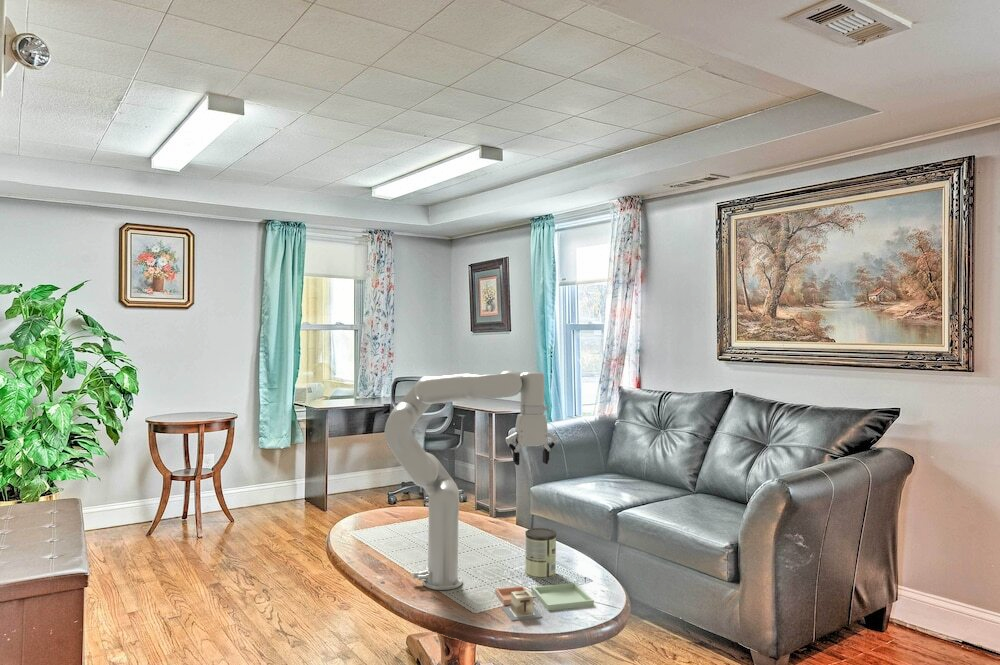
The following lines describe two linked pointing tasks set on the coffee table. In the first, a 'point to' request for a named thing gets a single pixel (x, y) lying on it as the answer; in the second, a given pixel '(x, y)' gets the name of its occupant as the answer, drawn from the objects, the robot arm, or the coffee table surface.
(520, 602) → the letter cube
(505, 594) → the terracotta dish
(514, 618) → the grey framed white tile
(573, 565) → the coffee table surface
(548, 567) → the coffee can
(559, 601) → the green tray
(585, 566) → the coffee table surface
